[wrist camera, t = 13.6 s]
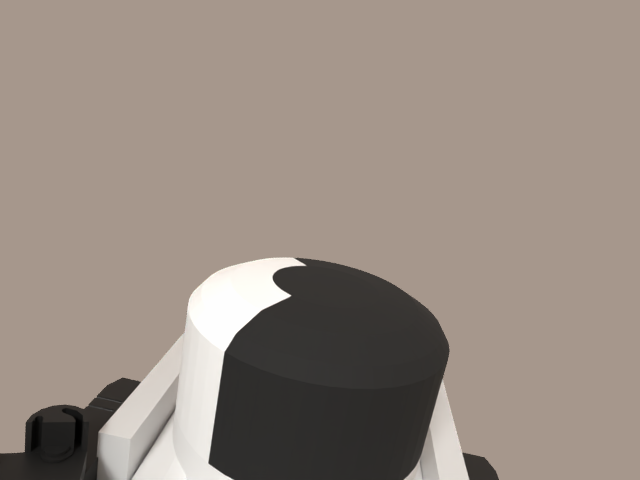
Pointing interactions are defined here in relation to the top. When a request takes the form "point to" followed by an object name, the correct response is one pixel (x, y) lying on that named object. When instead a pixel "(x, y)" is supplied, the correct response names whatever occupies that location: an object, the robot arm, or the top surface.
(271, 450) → the medicine bottle
